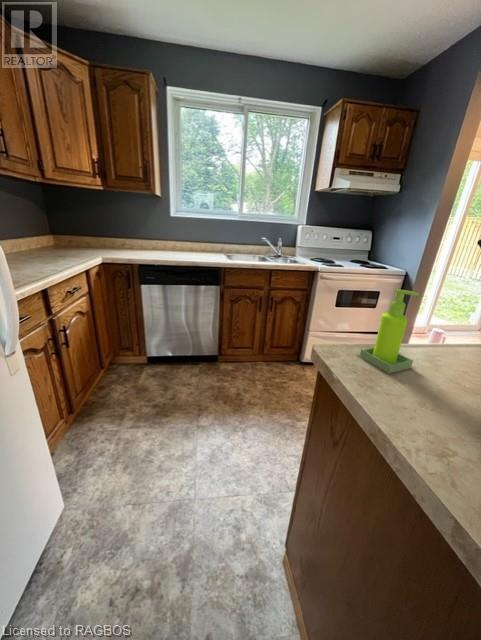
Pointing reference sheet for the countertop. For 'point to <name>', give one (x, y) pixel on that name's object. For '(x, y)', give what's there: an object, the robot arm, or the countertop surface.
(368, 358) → the green tray
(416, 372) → the countertop surface
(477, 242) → the robot arm
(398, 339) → the soap dispenser
